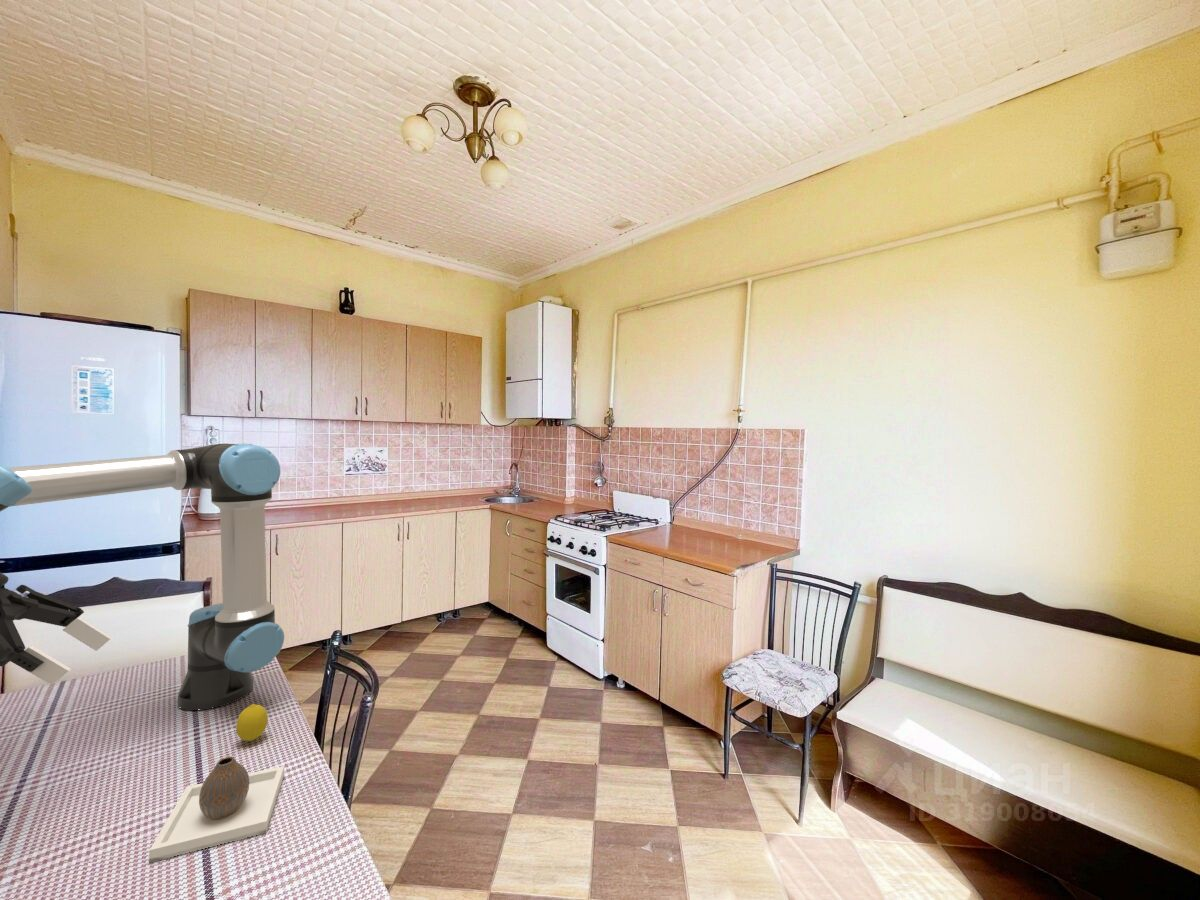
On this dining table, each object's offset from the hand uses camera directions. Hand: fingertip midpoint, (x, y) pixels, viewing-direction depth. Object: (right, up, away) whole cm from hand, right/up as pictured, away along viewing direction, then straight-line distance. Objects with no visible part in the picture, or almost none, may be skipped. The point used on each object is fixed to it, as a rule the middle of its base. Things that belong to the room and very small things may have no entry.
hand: (84, 659), depth 83 cm
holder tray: (+24, -27, 0) cm, 36 cm away
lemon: (+14, -27, +21) cm, 37 cm away
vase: (+24, -27, 0) cm, 36 cm away
